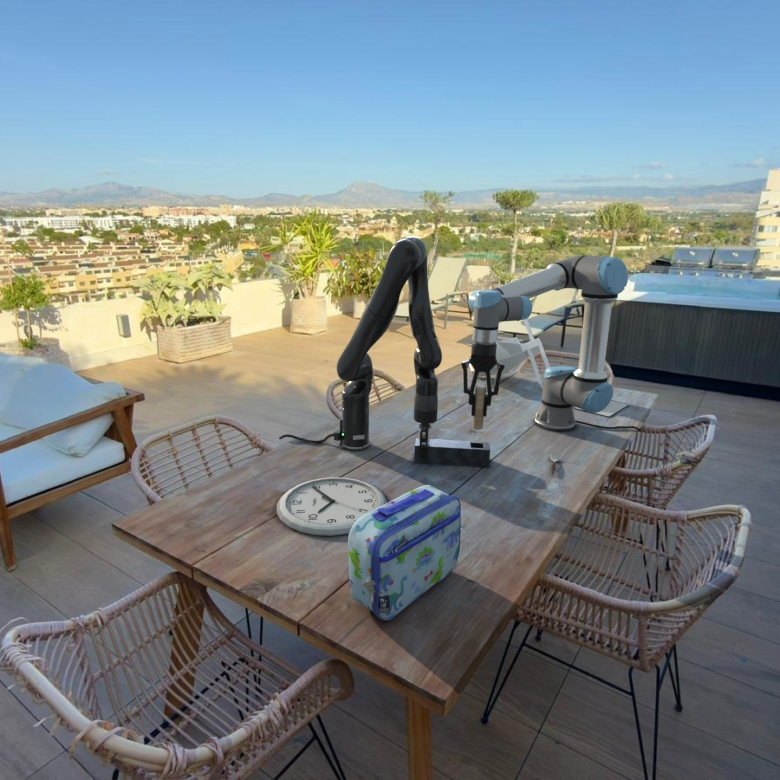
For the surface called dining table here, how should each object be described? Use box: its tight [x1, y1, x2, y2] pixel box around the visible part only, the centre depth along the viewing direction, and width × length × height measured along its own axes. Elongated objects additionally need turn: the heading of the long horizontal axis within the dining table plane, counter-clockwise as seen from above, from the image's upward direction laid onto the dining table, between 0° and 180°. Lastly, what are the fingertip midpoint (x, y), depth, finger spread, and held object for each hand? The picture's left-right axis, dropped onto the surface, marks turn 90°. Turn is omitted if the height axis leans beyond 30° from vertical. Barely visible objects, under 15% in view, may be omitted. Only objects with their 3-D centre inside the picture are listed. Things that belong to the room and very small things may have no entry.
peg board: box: [413, 437, 491, 468], centre depth 171 cm, size 24×6×6 cm, turn 84°
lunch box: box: [347, 484, 462, 621], centre depth 107 cm, size 26×11×21 cm, turn 134°
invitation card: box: [573, 400, 629, 418], centre depth 226 cm, size 21×1×15 cm
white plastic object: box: [469, 318, 551, 390], centre depth 259 cm, size 37×45×31 cm
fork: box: [550, 450, 560, 475], centre depth 169 cm, size 3×16×2 cm, turn 160°
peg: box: [472, 384, 487, 431], centre depth 165 cm, size 3×3×14 cm
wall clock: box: [276, 476, 388, 537], centre depth 142 cm, size 30×2×30 cm
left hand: (423, 454), depth 172 cm, fingers closed on peg board, 6 cm apart
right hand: (478, 414), depth 166 cm, fingers closed on peg, 3 cm apart
